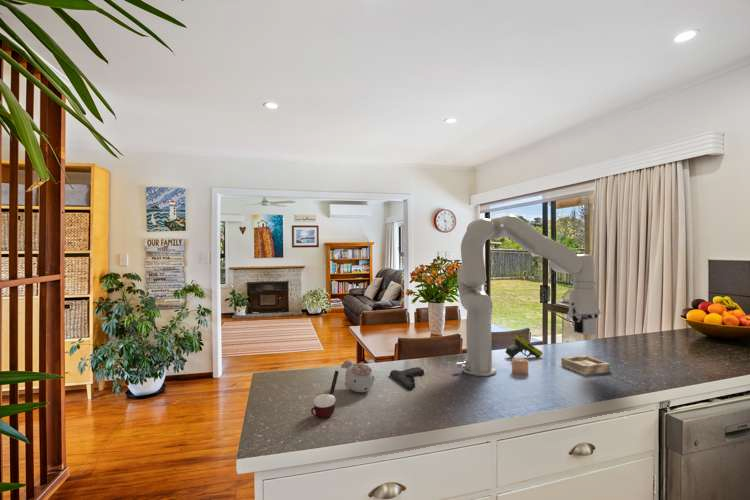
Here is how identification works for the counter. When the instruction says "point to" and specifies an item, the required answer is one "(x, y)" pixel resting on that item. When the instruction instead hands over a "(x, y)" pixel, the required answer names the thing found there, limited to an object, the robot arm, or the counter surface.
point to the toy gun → (522, 348)
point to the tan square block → (520, 366)
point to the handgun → (407, 376)
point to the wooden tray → (585, 365)
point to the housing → (587, 325)
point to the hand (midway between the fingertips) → (584, 331)
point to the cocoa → (325, 401)
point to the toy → (358, 376)
